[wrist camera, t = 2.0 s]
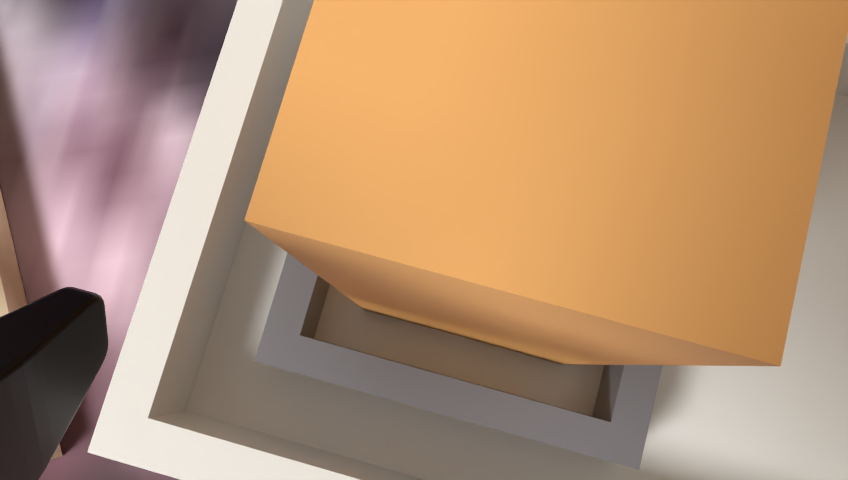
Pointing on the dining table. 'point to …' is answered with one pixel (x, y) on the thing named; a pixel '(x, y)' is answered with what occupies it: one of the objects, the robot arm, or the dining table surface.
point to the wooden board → (11, 277)
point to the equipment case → (430, 347)
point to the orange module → (560, 169)
